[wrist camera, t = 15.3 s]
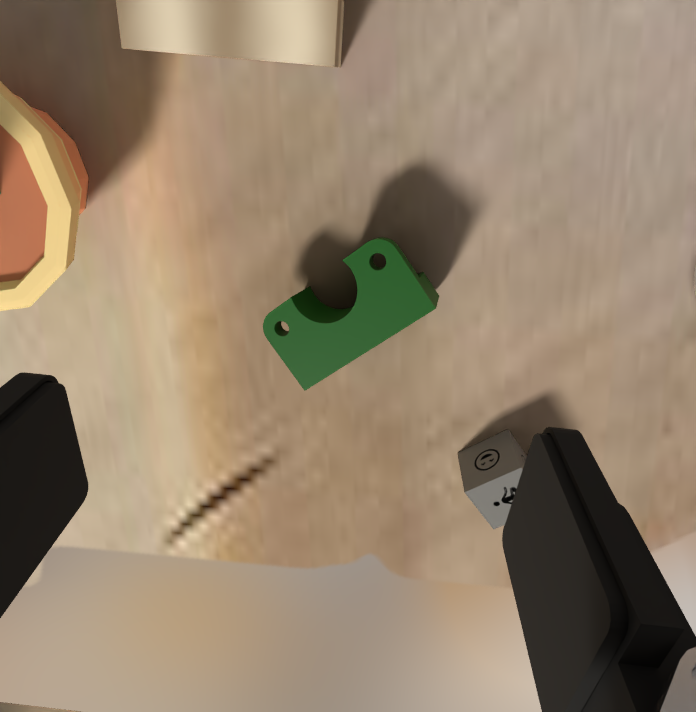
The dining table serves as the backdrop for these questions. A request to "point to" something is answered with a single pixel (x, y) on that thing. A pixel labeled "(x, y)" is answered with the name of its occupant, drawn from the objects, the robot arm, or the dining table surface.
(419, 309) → the clamp
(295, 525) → the dining table surface
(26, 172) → the potted cactus
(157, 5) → the socket block
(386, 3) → the dining table surface
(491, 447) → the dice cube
